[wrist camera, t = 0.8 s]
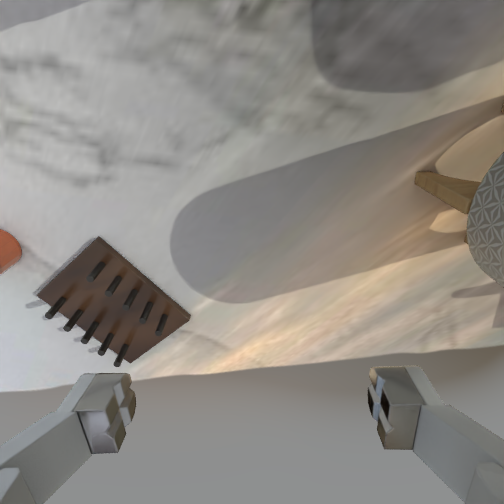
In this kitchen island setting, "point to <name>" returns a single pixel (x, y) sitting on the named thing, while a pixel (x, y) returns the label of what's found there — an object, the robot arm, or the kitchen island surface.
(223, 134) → the kitchen island surface
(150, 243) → the kitchen island surface
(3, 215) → the kitchen island surface
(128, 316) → the rack
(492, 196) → the planter
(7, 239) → the cup
